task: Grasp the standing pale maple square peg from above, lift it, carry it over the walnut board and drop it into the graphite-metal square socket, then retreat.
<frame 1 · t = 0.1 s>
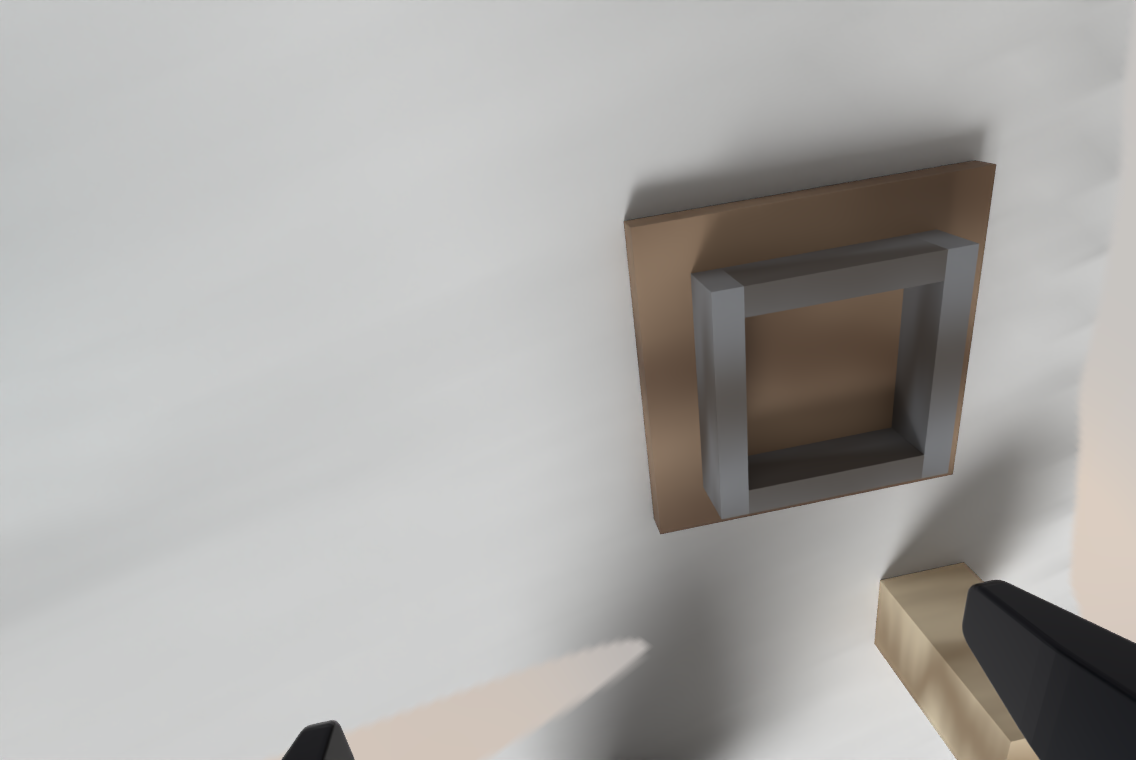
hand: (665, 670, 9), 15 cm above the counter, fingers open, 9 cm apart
socket holder: (799, 355, 24), on the counter
maple peg: (918, 603, 31), on the counter
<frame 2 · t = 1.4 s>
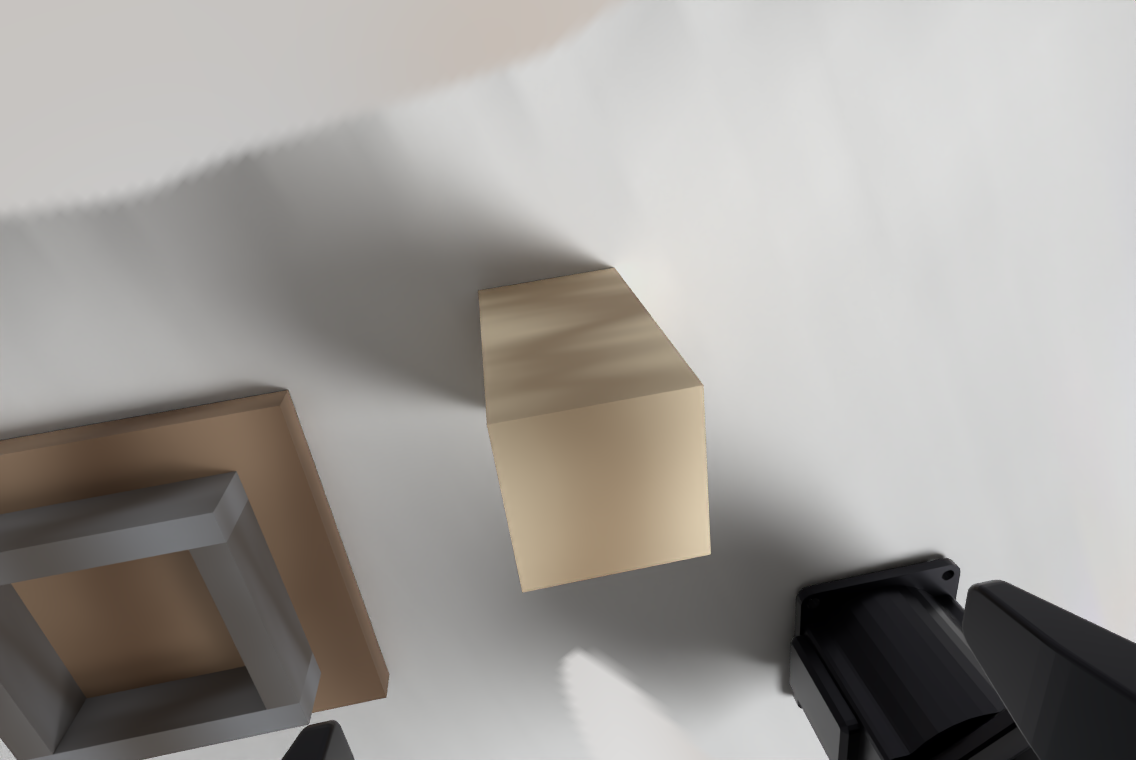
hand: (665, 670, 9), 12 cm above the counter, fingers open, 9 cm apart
socket holder: (159, 585, 22), on the counter
maple peg: (556, 342, 20), on the counter
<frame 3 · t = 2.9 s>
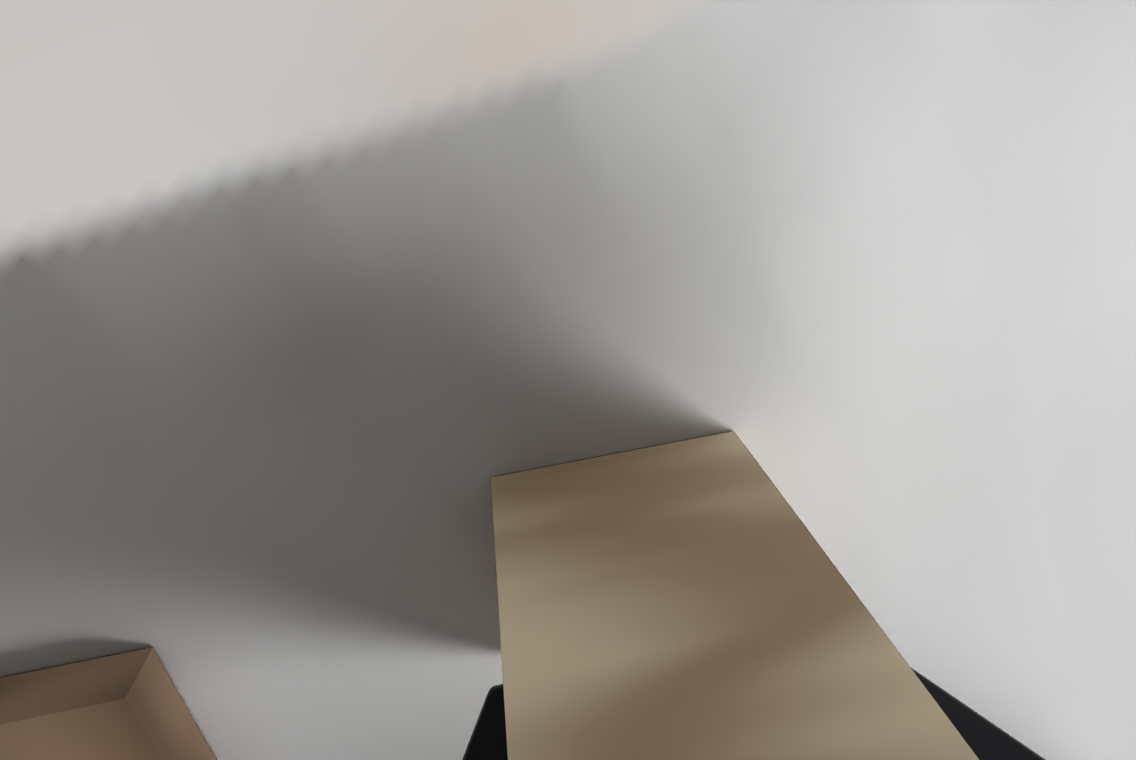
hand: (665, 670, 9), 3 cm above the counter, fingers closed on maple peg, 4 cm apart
maple peg: (625, 550, 12), on the counter, touching gripper
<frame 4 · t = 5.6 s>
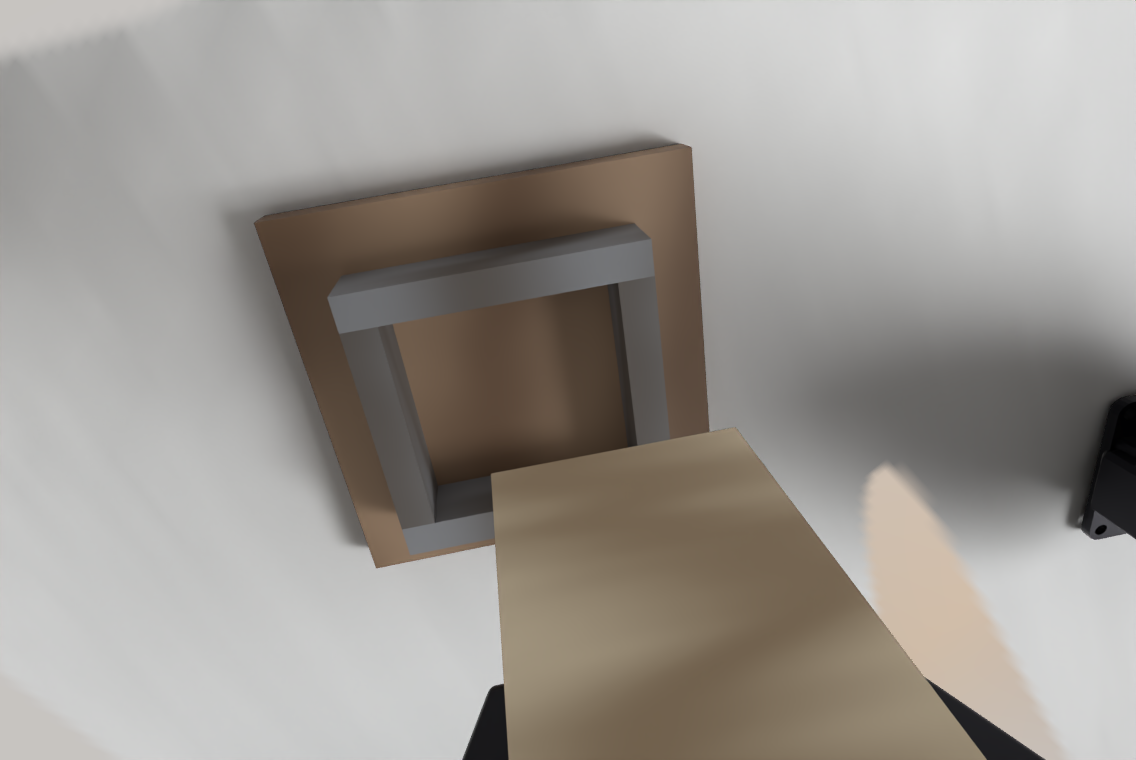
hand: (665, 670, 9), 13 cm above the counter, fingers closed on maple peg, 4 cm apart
socket holder: (514, 368, 21), on the counter
maple peg: (626, 547, 11), point 11 cm above the counter, touching gripper
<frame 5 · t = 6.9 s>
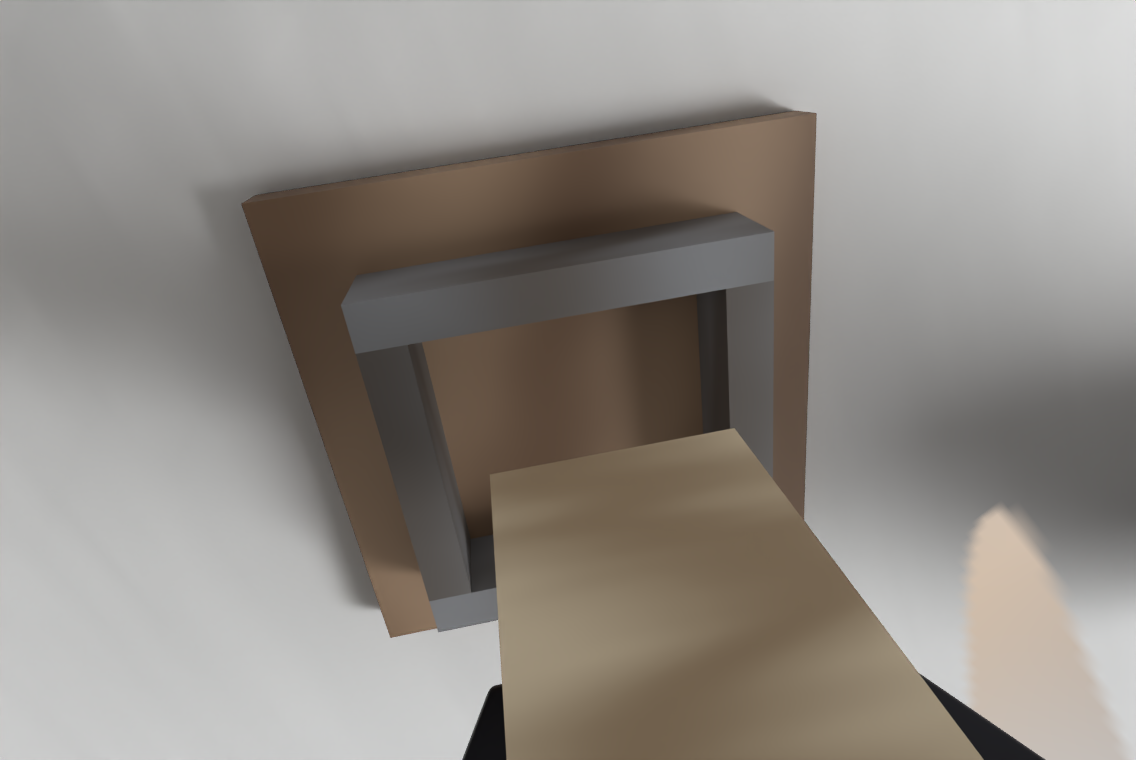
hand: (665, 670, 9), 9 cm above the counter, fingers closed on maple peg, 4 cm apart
socket holder: (568, 393, 17), on the counter
maple peg: (625, 548, 11), point 6 cm above the counter, touching gripper
when the fingers open (4 cm above the counter, at t = 8.3 s): maple peg stays where it is, resting on socket holder.
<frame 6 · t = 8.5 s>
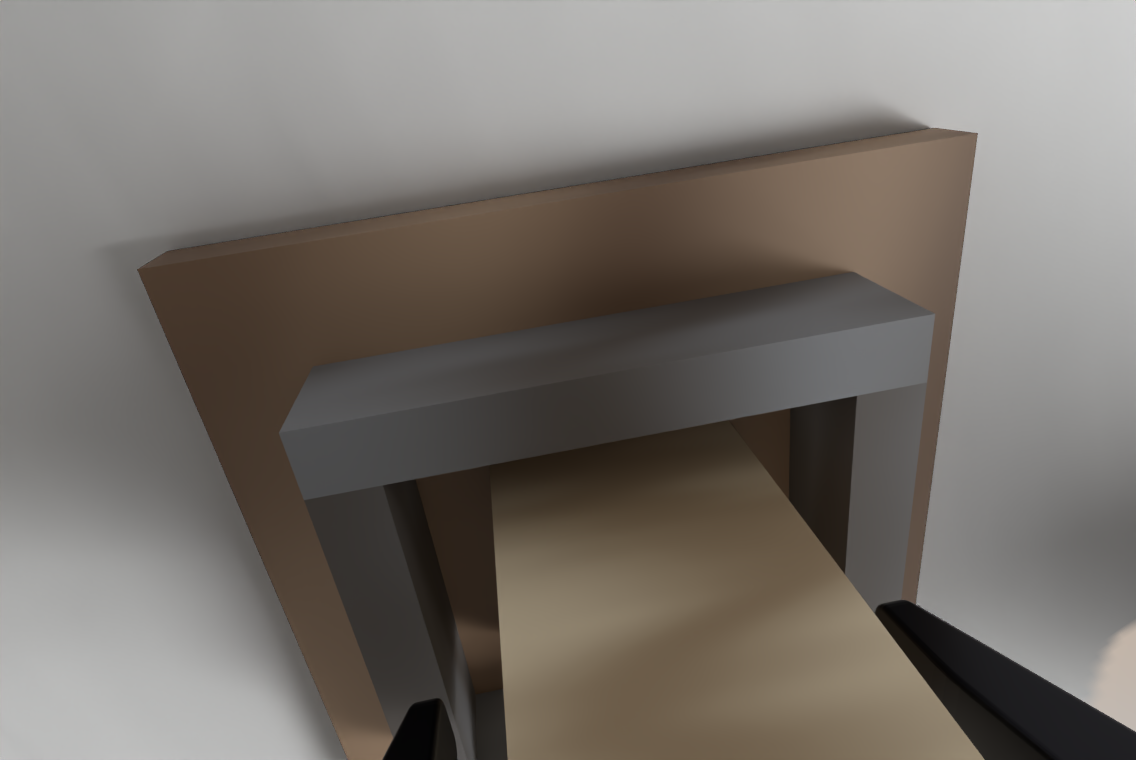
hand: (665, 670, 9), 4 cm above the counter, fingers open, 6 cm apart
socket holder: (607, 502, 13), on the counter
maple peg: (620, 531, 12), point 1 cm above the counter, touching socket holder
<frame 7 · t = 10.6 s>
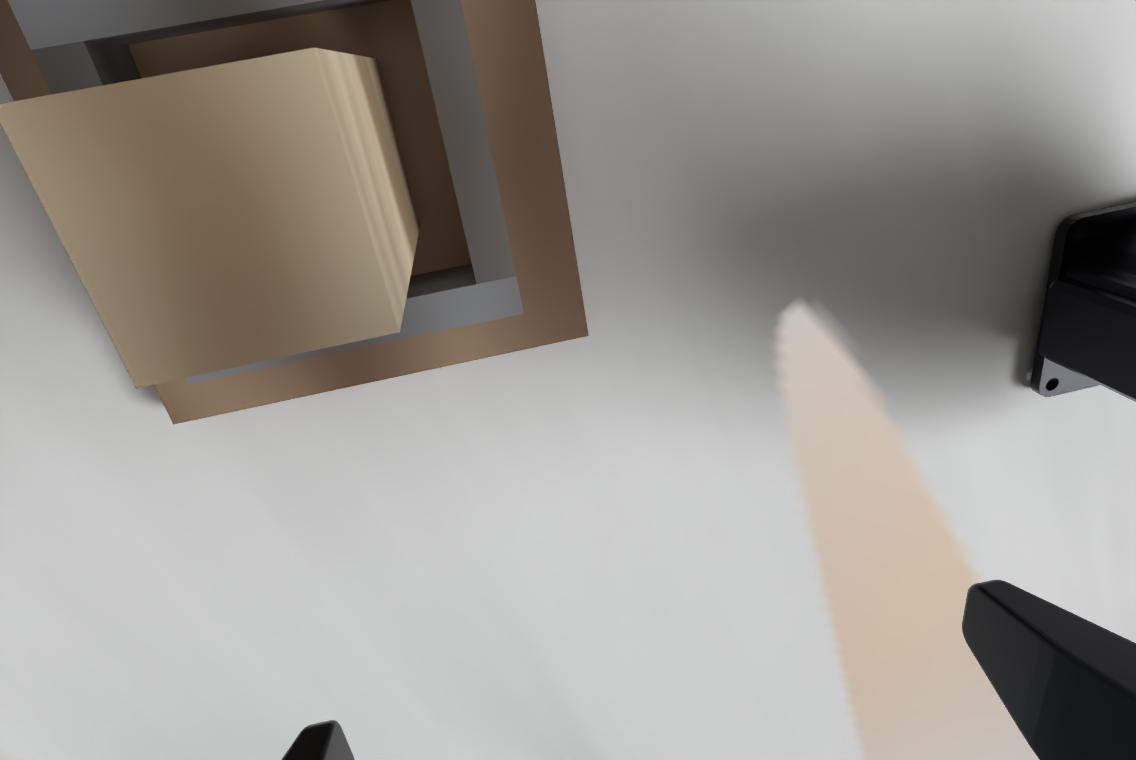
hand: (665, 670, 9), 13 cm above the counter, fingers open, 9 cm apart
socket holder: (325, 160, 17), on the counter
maple peg: (319, 161, 16), point 1 cm above the counter, touching socket holder
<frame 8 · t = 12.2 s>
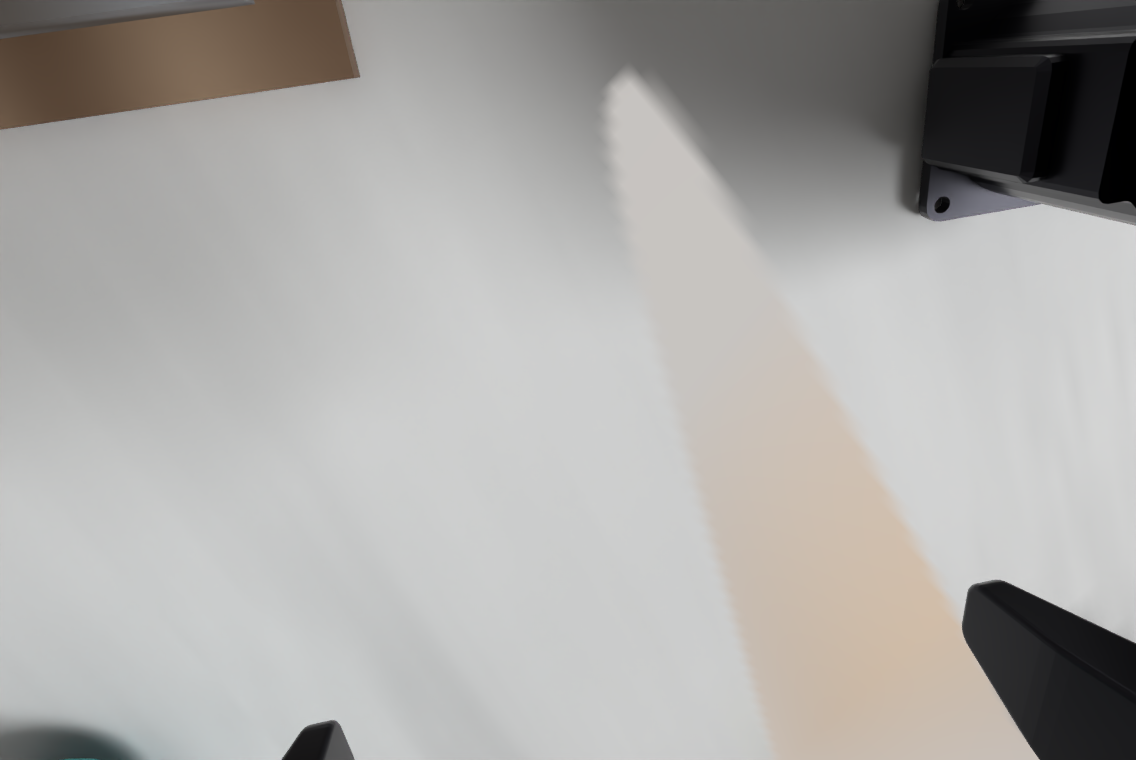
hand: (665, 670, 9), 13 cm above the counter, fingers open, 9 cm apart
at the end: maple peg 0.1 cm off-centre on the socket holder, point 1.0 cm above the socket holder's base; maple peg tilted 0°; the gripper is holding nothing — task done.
